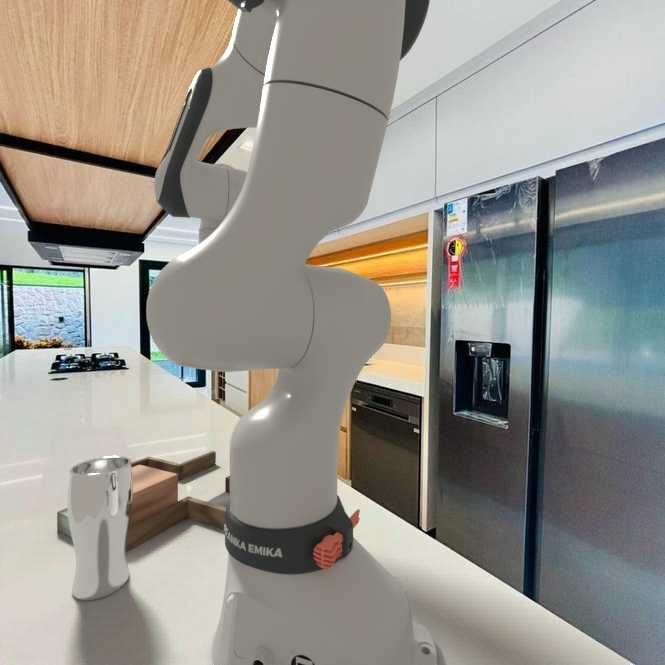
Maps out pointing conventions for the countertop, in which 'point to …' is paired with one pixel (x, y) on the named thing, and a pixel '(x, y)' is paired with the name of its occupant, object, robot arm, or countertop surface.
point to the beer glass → (100, 524)
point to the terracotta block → (152, 491)
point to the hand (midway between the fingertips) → (221, 314)
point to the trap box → (176, 512)
